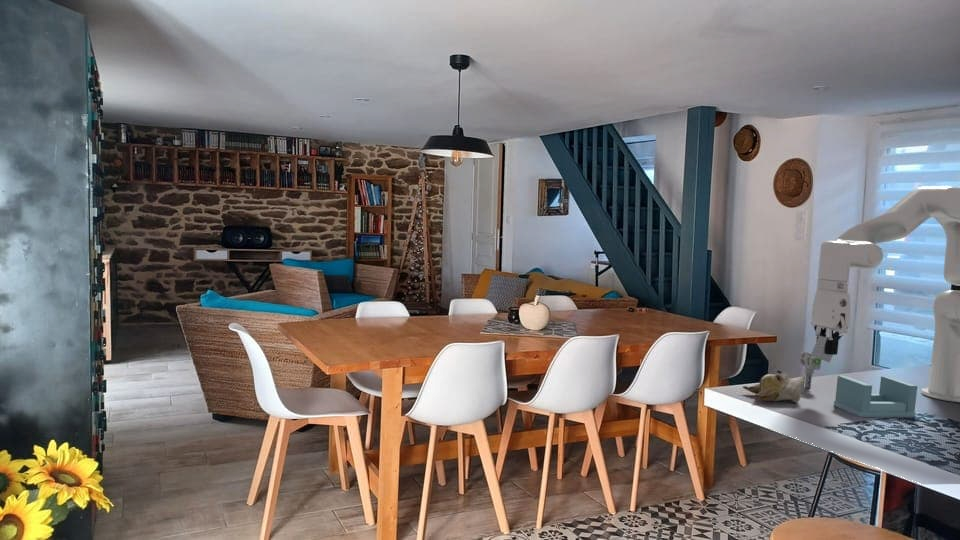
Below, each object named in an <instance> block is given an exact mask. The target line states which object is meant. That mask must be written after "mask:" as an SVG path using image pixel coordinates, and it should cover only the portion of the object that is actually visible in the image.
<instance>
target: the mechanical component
mask: <svg viewBox="0 0 960 540" xmlns="http://www.w3.org/2000/svg"><path fill="white" fill-rule="evenodd" d="M799 357H800V358H799V363H800V365H801V366H803V367H804V373H805V384H804V389H807V388H810V389H811V387H812V379H813V378H812V376H813V374H815V370H816V371H819V370H821V365H822V360H820V359H818V358H816V357H813V356H811V353H809V352H807V351H803V352H801V354H800V356H799Z"/></svg>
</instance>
